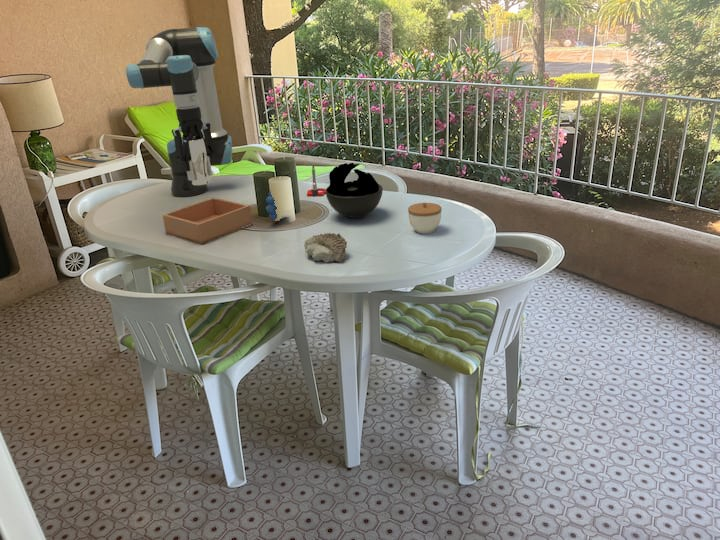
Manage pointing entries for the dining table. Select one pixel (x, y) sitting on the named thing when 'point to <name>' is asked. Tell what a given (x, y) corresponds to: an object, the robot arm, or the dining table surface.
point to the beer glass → (199, 161)
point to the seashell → (326, 247)
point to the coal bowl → (353, 192)
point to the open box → (207, 220)
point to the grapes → (271, 207)
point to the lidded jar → (424, 217)
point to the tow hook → (315, 186)
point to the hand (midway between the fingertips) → (200, 177)
